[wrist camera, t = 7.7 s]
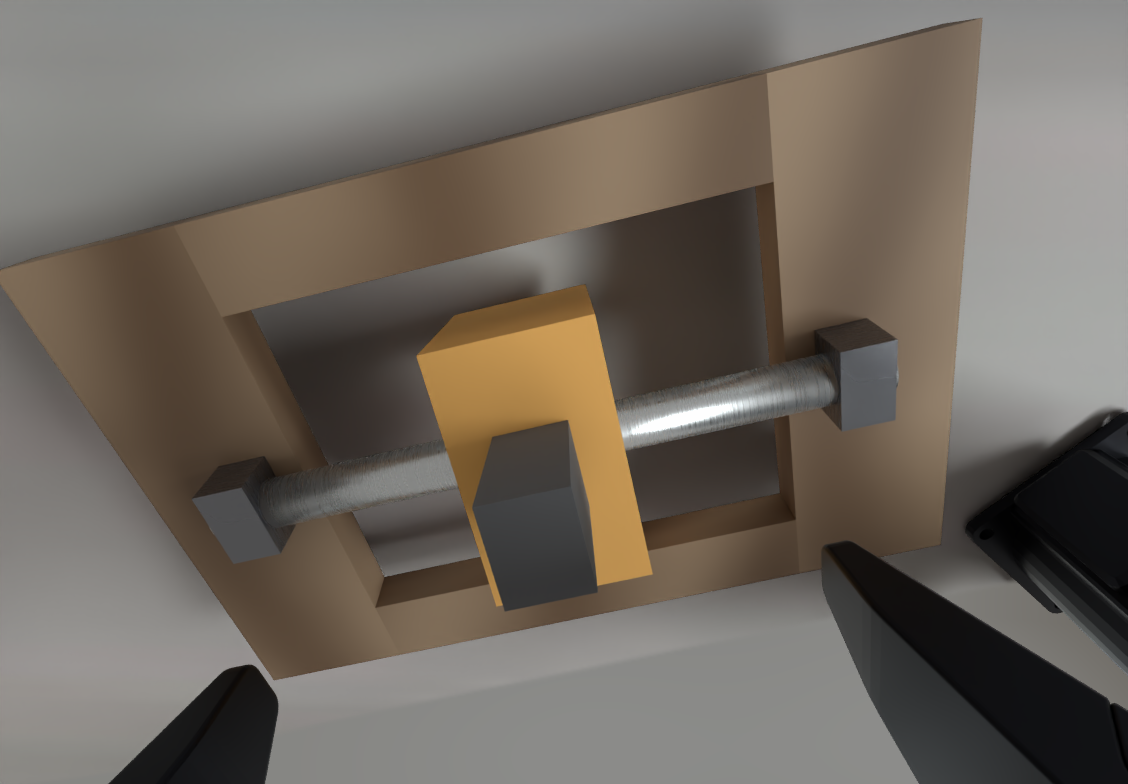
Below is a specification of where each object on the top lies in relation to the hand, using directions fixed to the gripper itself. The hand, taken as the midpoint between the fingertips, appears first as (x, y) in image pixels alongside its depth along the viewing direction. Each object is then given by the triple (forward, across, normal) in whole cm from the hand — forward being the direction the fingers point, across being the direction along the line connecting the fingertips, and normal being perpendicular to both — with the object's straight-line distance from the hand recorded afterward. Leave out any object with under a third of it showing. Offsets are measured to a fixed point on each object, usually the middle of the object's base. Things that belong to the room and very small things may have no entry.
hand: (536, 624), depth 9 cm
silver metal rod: (+6, 0, 0) cm, 6 cm away
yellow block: (+8, 0, +1) cm, 8 cm away
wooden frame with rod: (+10, 0, 0) cm, 10 cm away
